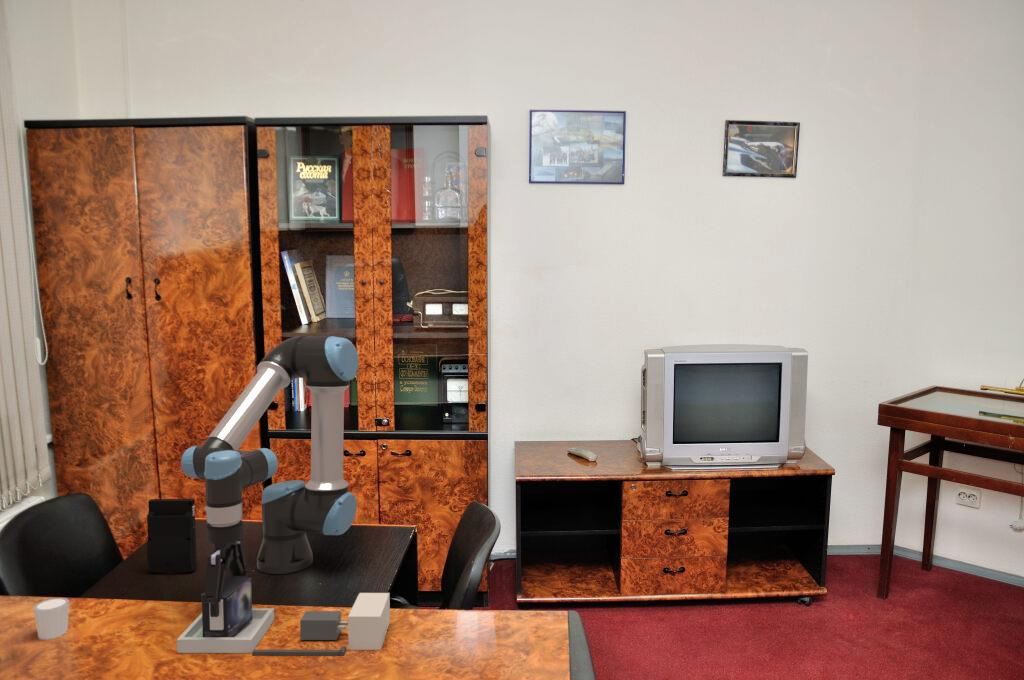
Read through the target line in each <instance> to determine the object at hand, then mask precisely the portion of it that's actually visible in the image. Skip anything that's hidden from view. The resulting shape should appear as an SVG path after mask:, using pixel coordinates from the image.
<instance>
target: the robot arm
mask: <svg viewBox="0 0 1024 680" xmlns="http://www.w3.org/2000/svg"><path fill="white" fill-rule="evenodd" d="M359 363H360V361H359V354H358V351H357V348H356V347H355V345H354V344H353V342H352V341H351V340H349V339H348V338H346V337H341V336H333V335H331V336H324V335H323V336H321V335H318V336H314V335H313V336H311V335H296V336H293V337H290V338H287V339H285V340H283V341H282V342H280V343H279V344H278V345H276V346H275V347H274V348H272V349H271V350H269V352H268V353H267V354H266V355H265V356H264V357H263V358H262V359H261V360H260V362H259V364H258V365H256V374H255V375H254V376H253V378H252V379H251V381H249V383H248V384H247V385H246V387H245V388H244V390H243V391H242V392H241V393H240V395H239V396H238V397H237V399H236V400H235V401H234V403H233V404H232V405H231V406H230V408H229V409H228V411H227V412H226V413H225V415H224V416H223V417H222V419H220V421H219V422H218V424H217V425H216V426H215V427H214V429H213V430H212V432H211V433H210V434H209V435H208V437H206V438H207V439H206V440H205V441H204V442H203V444H202V445H193V446H191V447H189V448H187V449H185V451H184V452H183V453H182V456H181V461H180V465H181V466H180V467H181V470H182V472H183V474H185V476H187V477H190V478H194V479H198V480H204V486H205V507H204V511H205V512H206V513H205V514H206V515H205V516H206V523H207V524H206V540H207V542H209V543H210V544H211V543H212V544H213V545H214V550H213V553H212V554H207V569H206V580H205V587H204V589H205V590H204V592H205V596H204V603H209V613H210V630H223V629H224V615H223V599H221V596H222V591H223V585H224V580H225V577H226V576H227V575H226V574H227V570H229V571H230V575H235V576H243V577H248V570H247V566H248V565H247V560H246V556H245V549H244V545H243V536H244V525H243V524H244V523H243V520H242V519H243V518H244V515H243V514H244V513H243V512H244V511H243V510H244V509H243V490H245V489H246V488H249V487H251V486H254V485H257V484H259V483H263V482H265V481H267V480H269V479H270V478H272V477H273V476H275V474H276V473H277V471H278V468H279V466H278V465H279V462H278V457H277V455H276V454H275V452H273V451H272V450H271V449H269V448H265V447H263V448H256V449H254V450H240V449H239V448H240V447H241V446H242V444H243V443H244V442H245V440H246V438H248V436H249V435H250V433H251V432H252V430H253V429H254V427H255V426H256V424H257V423H258V422H259V420H260V419H261V418H262V416H263V415H264V413H265V412H266V411H267V409H268V408H269V406H270V405H271V403H272V402H273V401H274V399H275V398H276V396H277V395H278V394H279V393H280V391H281V390H282V389H286V388H287V387H288V386H290V384H291V382H292V381H293V380H296V379H299V378H301V379H305V386H306V388H307V389H308V390H309V392H311V417H310V418H311V421H310V422H311V423H310V424H311V428H310V429H311V431H310V433H311V434H310V435H311V438H310V439H311V441H310V479H309V480H308V482H307V483H306V482H305V481H304V480H302V479H301V480H300V479H296V480H295V479H292V480H286V481H285V480H283V481H281V482H280V481H279V482H276V483H272V484H270V485H268V486H266V487H265V488H264V489H263V490H262V493H261V516H262V517H261V520H262V521H261V523H262V541H261V545H260V547H259V550H258V553H257V557H256V568H257V570H258V571H260V572H261V573H265V574H269V575H270V574H271V575H284V574H285V575H286V574H291V573H296V572H299V571H302V570H305V569H307V568H308V567H310V566H311V565H312V564H313V563H314V554H313V550H312V548H311V545H310V542H309V540H308V536H307V533H312V534H313V533H314V534H318V535H319V534H320V535H324V536H340V535H344V533H346V532H347V531H348V530H349V529H350V527H351V526H352V524H353V522H354V520H355V517H356V514H357V511H358V500H357V497H356V495H355V494H354V493H352V492H351V491H349V482H348V481H347V480H345V479H344V430H345V429H344V423H345V421H344V420H345V419H344V418H345V417H344V416H345V412H344V411H345V407H344V405H345V392H346V390H347V389H348V388H349V387H350V385H351V384H350V381H352V380H354V379H355V378H356V376H357V374H358V371H359V368H360V367H359V365H360V364H359Z"/></svg>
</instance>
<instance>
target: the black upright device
mask: <svg viewBox="0 0 1024 680" xmlns="http://www.w3.org/2000/svg"><path fill="white" fill-rule="evenodd" d="M195 502H196V501H195V498H152V499H149V500H148V501H147V503H148V505H147V506H148V514H147V515H146V523H147V524H146V525H147V526H146V527H147V543H146V544H147V545H146V558H147V559H146V560H147V566H148V570H149V571H150V572H151V573H155V574H168V575H175V574H186V573H187V574H188V573H191V572H194V571H196V570H197V568H198V566H197V536H196V531H197V530H196V510H195V509H196V508H195V507H196V506H195Z"/></svg>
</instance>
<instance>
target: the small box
mask: <svg viewBox="0 0 1024 680" xmlns="http://www.w3.org/2000/svg"><path fill="white" fill-rule="evenodd" d="M204 596H205V591H204V592H202V593H201V598H200V599H201V613H202V625H203V637H233V636H234V635H235V634H236V633H237V632H239V631H240V630H241V629H242V628H243V627H244V626H245V625H247V624H248V623H249V622H250V621H251V620H252V608H253V602H252V601H253V599H252V598H253V597H252V577H251V576H235V575H232V574H227V575H225V580H224V585H223V591H222V596H221V599H223V615H224V629H223V630H210V613H209V603H204Z"/></svg>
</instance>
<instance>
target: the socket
mask: <svg viewBox="0 0 1024 680" xmlns="http://www.w3.org/2000/svg"><path fill="white" fill-rule="evenodd" d="M390 594H391V593H390V592H359V593H358V595H357V596H356V599H355V601H354V603H353V604H352V607H351V610H350V611H349V613H348V616H347V621H348V627H347V630H348V639H347V640H348V650H349V651H381V650H382V649H383V648H382V647H383V645H384V642H385V639H386V637H385V636H387V634H386V633H388V631H387V629H388V630H389V628H388V626H389V627H390V625H389V623H390V624H391V621H390V620H391V617H390V616H391V611H390V609H391V606H390V605H391V603H390V601H391V600H390V599H391V596H390Z"/></svg>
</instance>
